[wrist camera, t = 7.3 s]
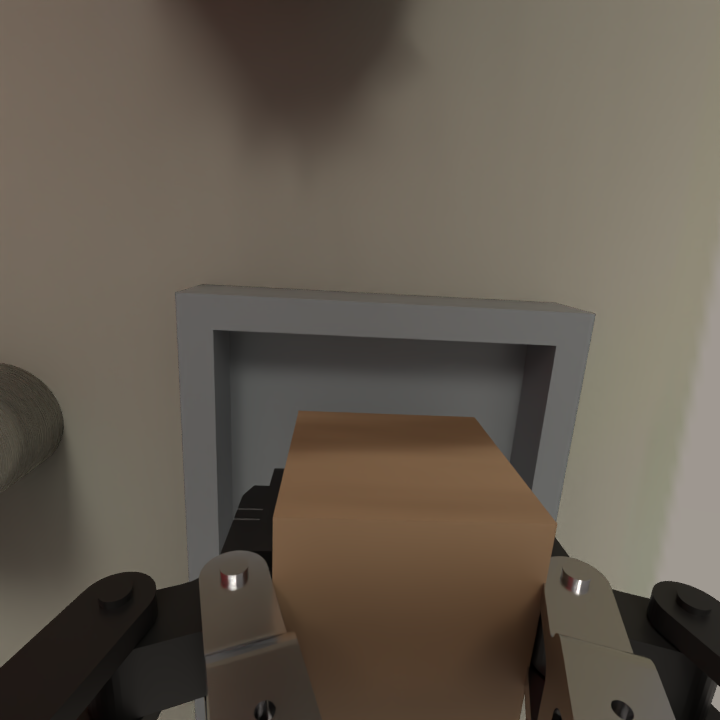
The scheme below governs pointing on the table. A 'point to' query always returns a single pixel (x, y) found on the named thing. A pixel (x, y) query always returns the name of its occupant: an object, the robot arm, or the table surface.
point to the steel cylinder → (25, 423)
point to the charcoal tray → (364, 383)
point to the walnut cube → (409, 566)
